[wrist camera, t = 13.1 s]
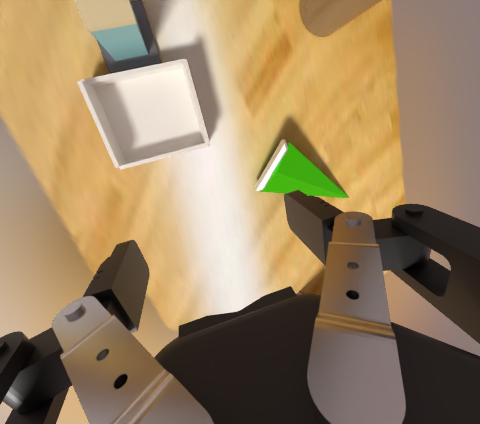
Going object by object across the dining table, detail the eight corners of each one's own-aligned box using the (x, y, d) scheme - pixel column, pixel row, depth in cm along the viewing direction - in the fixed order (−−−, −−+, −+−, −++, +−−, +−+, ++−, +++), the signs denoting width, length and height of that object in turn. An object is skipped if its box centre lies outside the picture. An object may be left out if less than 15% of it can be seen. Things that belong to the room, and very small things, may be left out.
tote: (184, 65, 38) (185, 54, 32) (207, 145, 42) (210, 146, 37) (89, 85, 35) (74, 76, 30) (125, 167, 40) (117, 171, 35)
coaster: (141, 2, 34) (141, -1, 33) (161, 63, 37) (160, 62, 36) (86, 11, 33) (84, 9, 32) (110, 73, 35) (109, 72, 35)
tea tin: (135, 14, 34) (114, -45, 22) (149, 55, 35) (135, 19, 24) (99, 21, 33) (59, -37, 22) (115, 62, 35) (85, 28, 24)
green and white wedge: (356, 171, 55) (276, 132, 43) (371, 182, 51) (288, 142, 39) (327, 207, 60) (248, 181, 48) (339, 220, 56) (257, 194, 44)
